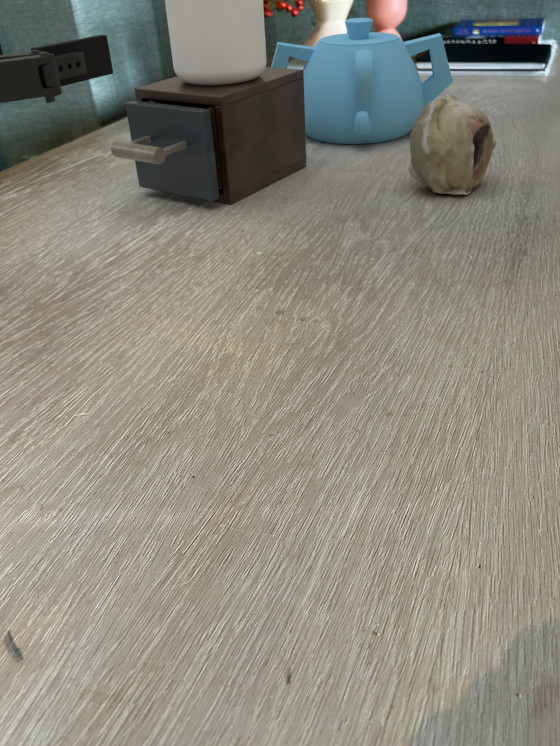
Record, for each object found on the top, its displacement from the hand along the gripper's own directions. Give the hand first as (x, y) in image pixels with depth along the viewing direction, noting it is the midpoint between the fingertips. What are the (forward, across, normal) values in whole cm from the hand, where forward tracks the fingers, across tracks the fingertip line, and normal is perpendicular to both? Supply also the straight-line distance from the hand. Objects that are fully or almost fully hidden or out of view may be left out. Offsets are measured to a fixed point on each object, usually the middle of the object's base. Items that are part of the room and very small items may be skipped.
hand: (49, 50), depth 55 cm
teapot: (+47, +3, -17) cm, 50 cm away
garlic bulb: (+29, +24, -17) cm, 42 cm away
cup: (+22, 0, -6) cm, 22 cm away
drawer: (+16, 0, -16) cm, 23 cm away
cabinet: (+22, 0, -17) cm, 27 cm away
